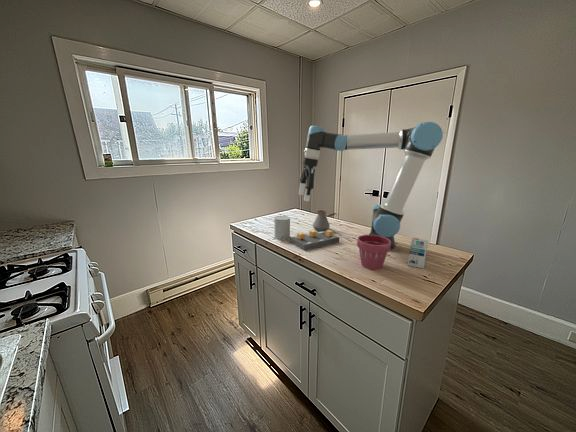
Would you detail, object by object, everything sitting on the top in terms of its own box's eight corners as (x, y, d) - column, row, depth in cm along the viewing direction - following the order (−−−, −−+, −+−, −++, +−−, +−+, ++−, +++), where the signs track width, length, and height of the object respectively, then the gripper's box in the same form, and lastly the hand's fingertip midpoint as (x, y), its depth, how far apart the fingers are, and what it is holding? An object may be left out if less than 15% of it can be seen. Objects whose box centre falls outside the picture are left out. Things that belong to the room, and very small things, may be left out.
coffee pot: (309, 228, 163) (310, 207, 159) (323, 226, 168) (324, 205, 164) (327, 238, 144) (328, 214, 141) (342, 235, 149) (344, 212, 146)
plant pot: (348, 262, 111) (350, 237, 108) (369, 256, 118) (372, 232, 115) (372, 275, 99) (376, 247, 96) (394, 268, 106) (398, 241, 103)
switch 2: (316, 236, 137) (316, 231, 137) (312, 236, 136) (312, 232, 135) (313, 234, 140) (313, 229, 139) (309, 235, 138) (309, 230, 138)
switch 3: (332, 235, 138) (333, 231, 137) (328, 236, 137) (329, 231, 136) (329, 234, 141) (329, 229, 140) (325, 235, 139) (325, 230, 138)
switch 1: (304, 238, 133) (304, 233, 132) (300, 239, 132) (300, 234, 131) (301, 236, 136) (301, 232, 135) (297, 237, 134) (297, 232, 133)
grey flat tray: (339, 242, 138) (339, 236, 137) (304, 250, 125) (304, 244, 124) (323, 235, 149) (323, 230, 148) (290, 242, 137) (290, 237, 136)
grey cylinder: (271, 238, 142) (271, 218, 139) (278, 233, 151) (278, 215, 148) (286, 240, 139) (286, 220, 136) (292, 235, 148) (292, 216, 145)
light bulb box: (423, 269, 106) (427, 246, 103) (407, 265, 109) (410, 243, 107) (425, 260, 115) (428, 239, 112) (409, 257, 118) (412, 237, 115)
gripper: (299, 154, 132) (292, 191, 139) (310, 159, 109) (301, 203, 115) (311, 157, 134) (304, 193, 140) (325, 161, 111) (316, 204, 117)
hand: (303, 197), depth 128 cm, fingers open, 13 cm apart
